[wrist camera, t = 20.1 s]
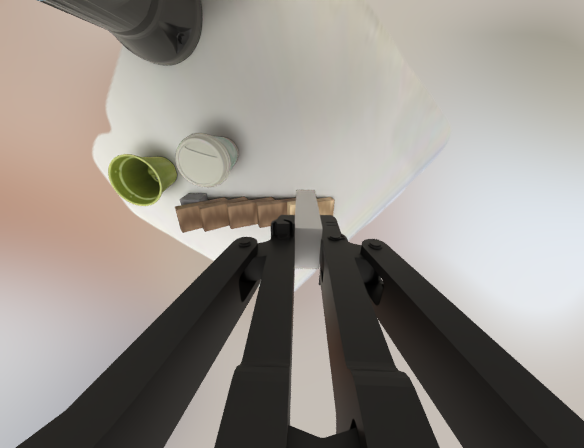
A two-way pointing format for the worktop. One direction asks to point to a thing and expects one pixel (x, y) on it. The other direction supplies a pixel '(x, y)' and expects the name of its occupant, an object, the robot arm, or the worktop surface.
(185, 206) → the tile
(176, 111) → the worktop surface
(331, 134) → the worktop surface
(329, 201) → the tile
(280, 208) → the tile
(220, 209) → the tile
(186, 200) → the block
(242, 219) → the tile
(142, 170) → the plant pot
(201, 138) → the coffee cup
